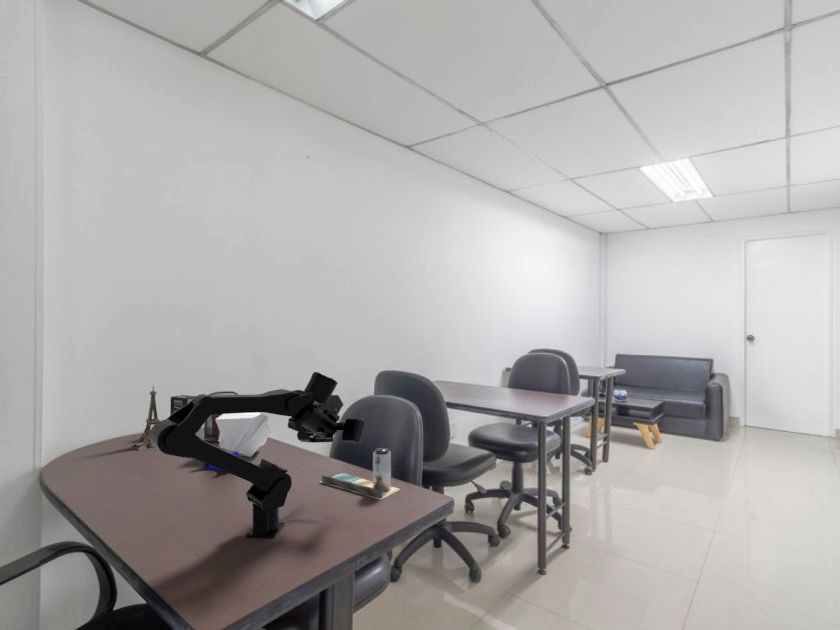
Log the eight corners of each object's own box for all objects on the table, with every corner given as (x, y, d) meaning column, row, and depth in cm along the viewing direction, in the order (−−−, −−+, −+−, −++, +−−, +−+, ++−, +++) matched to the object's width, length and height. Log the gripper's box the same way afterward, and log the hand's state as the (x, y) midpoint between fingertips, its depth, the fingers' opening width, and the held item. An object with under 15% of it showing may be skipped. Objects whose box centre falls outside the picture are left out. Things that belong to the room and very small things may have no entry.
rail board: (400, 491, 125) (400, 482, 125) (380, 502, 117) (380, 492, 117) (341, 475, 138) (341, 467, 138) (319, 484, 130) (319, 475, 130)
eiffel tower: (138, 451, 164) (139, 383, 164) (134, 445, 172) (134, 380, 172) (170, 446, 171) (171, 380, 171) (164, 440, 179) (165, 378, 179)
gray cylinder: (389, 492, 122) (389, 452, 122) (371, 492, 122) (371, 452, 123) (391, 486, 127) (392, 447, 127) (374, 485, 127) (374, 447, 128)
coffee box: (169, 435, 186) (169, 396, 187) (181, 431, 193) (182, 394, 193) (186, 437, 184) (186, 398, 184) (198, 433, 190) (198, 395, 190)
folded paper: (245, 400, 174) (203, 410, 160) (286, 406, 161) (244, 419, 147) (248, 442, 175) (206, 457, 161) (288, 452, 162) (247, 469, 148)
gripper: (353, 388, 112) (381, 412, 123) (294, 390, 119) (326, 413, 131) (342, 431, 106) (373, 452, 117) (281, 431, 113) (315, 450, 125)
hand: (346, 440), depth 123 cm, fingers open, 9 cm apart
